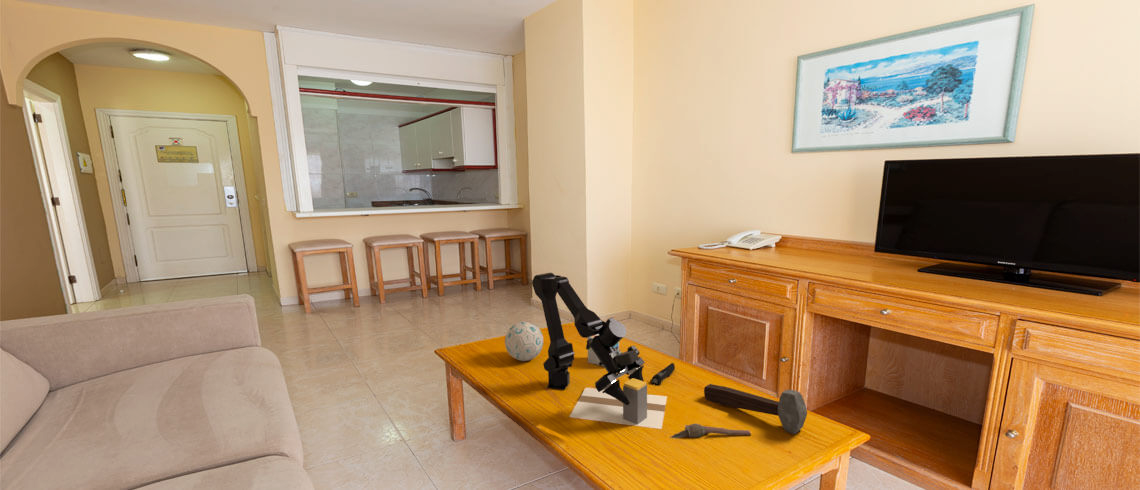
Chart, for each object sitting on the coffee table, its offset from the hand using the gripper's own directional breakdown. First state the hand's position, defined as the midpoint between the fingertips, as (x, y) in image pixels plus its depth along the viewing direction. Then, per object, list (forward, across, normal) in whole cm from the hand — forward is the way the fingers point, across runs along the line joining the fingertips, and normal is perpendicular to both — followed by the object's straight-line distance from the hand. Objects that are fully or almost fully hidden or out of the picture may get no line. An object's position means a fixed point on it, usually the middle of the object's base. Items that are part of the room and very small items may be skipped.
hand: (637, 398), depth 134 cm
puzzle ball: (-38, +12, +48) cm, 62 cm away
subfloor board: (-1, +3, +11) cm, 11 cm away
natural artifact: (+20, +6, -9) cm, 22 cm away
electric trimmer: (-1, +32, +12) cm, 34 cm away
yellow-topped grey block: (+4, 0, +5) cm, 6 cm away
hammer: (+22, +25, -11) cm, 35 cm away
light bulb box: (-19, +29, +29) cm, 45 cm away
